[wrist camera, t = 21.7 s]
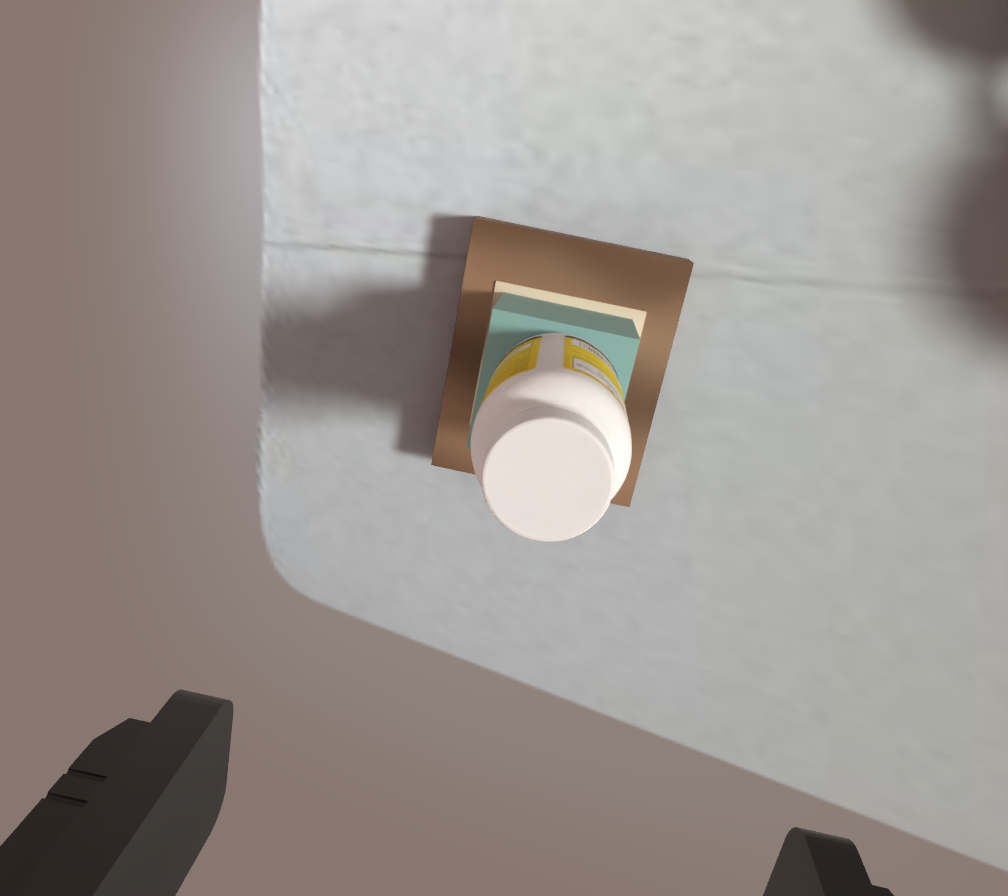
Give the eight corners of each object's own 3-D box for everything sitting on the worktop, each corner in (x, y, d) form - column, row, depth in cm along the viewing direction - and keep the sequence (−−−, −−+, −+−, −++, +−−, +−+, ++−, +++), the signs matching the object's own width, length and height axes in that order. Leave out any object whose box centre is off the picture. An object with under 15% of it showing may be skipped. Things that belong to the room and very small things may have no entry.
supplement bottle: (489, 456, 34) (455, 558, 25) (490, 328, 33) (454, 387, 23) (618, 461, 34) (632, 567, 25) (626, 332, 32) (645, 394, 23)
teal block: (504, 292, 37) (492, 308, 32) (632, 319, 37) (640, 340, 32) (480, 415, 39) (466, 447, 34) (602, 441, 39) (605, 477, 34)
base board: (479, 216, 38) (473, 218, 36) (688, 259, 38) (693, 263, 36) (438, 452, 42) (431, 465, 40) (627, 492, 42) (629, 507, 40)
